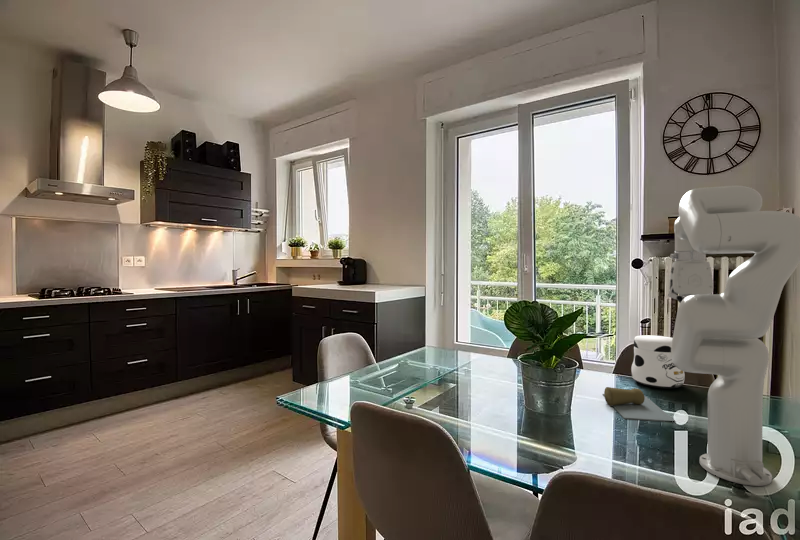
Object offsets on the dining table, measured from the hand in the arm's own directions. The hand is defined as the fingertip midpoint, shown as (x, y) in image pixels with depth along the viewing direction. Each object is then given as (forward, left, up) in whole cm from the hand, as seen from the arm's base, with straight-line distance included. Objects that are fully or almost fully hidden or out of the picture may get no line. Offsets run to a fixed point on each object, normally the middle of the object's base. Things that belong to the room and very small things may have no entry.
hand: (690, 317), depth 119 cm
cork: (+7, +21, -28) cm, 36 cm away
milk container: (+34, -4, -31) cm, 46 cm away
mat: (+7, +13, -31) cm, 34 cm away
